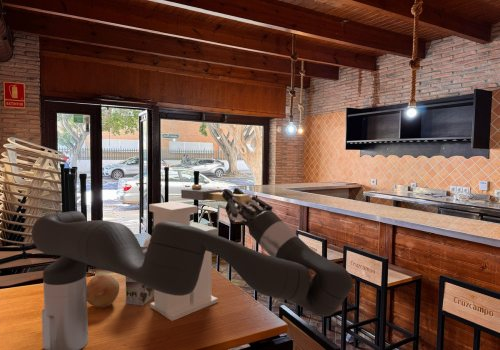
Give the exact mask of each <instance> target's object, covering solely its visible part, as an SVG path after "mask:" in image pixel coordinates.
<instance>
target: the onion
mask: <svg viewBox="0 0 500 350" xmlns="http://www.w3.org/2000/svg"><path fill="white" fill-rule="evenodd" d="M86 284H87V304H89V305H91V306H92V307H94V308H105V307H109V306H110V305H112V304H113V303H114V302H115V300H116V299H117V297H118V296H119V291H120V284H119V281H118V280H117V279H115V277H113V276H112V275H110V274H107V273H98V274H96V275H94V276H93V277H92V278H90V280H89V281H88V283H86Z"/></svg>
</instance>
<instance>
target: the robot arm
mask: <svg viewBox="0 0 500 350" xmlns="http://www.w3.org/2000/svg"><path fill="white" fill-rule="evenodd" d="M222 193H223V194H222V197H223V198H224V199H225V200H226V201H227V202H226V205H225V208H224V209H225V212H226V215H227V218H228V220H229V222H230V223H231V224H235V222H236V221H237V222H241V224H243V225H245V226H246V227H247V229H248V233H249V236H251V237H252V238H253V239H254V241H255V242H256V243H257V244H258V245H259V246H260V247H261V248H262V249H263V251H265V252H266V253H267V254H265V253H262V252H260V251H257V250H255V249H252V248H250V247H247V246H245V245H242V244H241V243H238V242H235V241H233V240H230V239H227V238H225V237H223V236H220V235H219V234H218V235H215V234H212V233H210V232H207V231H204V230H202V229H199V228H196V227H193V226H189V225H186V224H182V223H177V222H160V223H157V224H156V225H155V227H154V226H153V228H154V229H152V233H151V235H150V237H151V238H150V242H151V243H149V245H148V248H147V252H146V255H144V253H143V251H142V249H141V247H142V246H141V244H140V241H138V239H137V237H136V235H135V234H134V232H133V231H132V230H131V229H130V228H129V227H127V225H125V224H124V223H123V224H122V223H120V222H114V221H109V220H99V219H98V220H87V218H86V216H85V214H84V213H83V212H81V211H78V210H72V211H65V212H64V211H63V212H58V213H56V212H55V213H51V214H45V215H43V216H40V217H39V218H38V219H37V220H36V221H35V222H34V224H33V226H32V228H31V229H32V230H31V237H32V242H33V243H34V245H35V247H36V248H37V249H38V250H39V252H41V253H42V254H44V255H45V254H46V255H53V256H60V257H59V258H58V259H56V260H54V261H53V262H52V263H50V264H48V265H47V266H46V267H45V268H44V270H43V272H42V281H43V306H44V308H43V309H42V310H41V326H42V347H43V349H44V350H81V349H83V348H85V346H86V345H87V344H88V341H89V331H88V330H89V329H88V328H89V327H88V302H87V284H88V283H87V267H88V266H91V267H94V268H97V269H100V270H104V271H108V272H111V273H115V274H117V275H121V276H123V277H125V278H126V277H128V278H130V279H132V280H134V281H136V282H139V283H141V284H143V285H145V286H147V287H149V288H152V289H154V290H157V291H159V292H162V293H166V294H170V295H177V296H182V295H187V294H190V293H191V292H192V291H193V290H194V289H195V287H196V284H197V282H198V278H199V274H200V271H201V267H202V263H203V259H204V255H205V251H209V252H212V254H214V255H215V256H216V255H217V256H218V257H220V259H222V260H224V261H225V262H226V263H227V264H228V265H229V266H231V268H232V269H233V270H235V272H236V273H237V274H238V275H239V276H240V278H241V279H242V280H243V282H245V283H246V284H247V285H248V286H249V287H250V288H251V289H253V290H254V291H255V292H257V293H259V294H261V295H263V296H266V297H270V298H276V299H280V300H284V301H290V302H293V303H294V304H296V305H298V306H299V307H301V308H303V309H305V310H307V311H308V312H310V313H312V314H313V315H315V316H318V317H329V316H332V315H333V314H334V313H336V312H337V310H338V309H339V307H340V306H341V304H342V303H343V302H344V301H345V299H346V298H347V296H348V295H349V294H350V292H351V291H352V289H353V286H354V281H353V278H352V276H351V274H350V272H349V271H347V269H346V268H345V267H344V266H342V265H340V264H339V263H336V262H334V261H332V260H330V259H328V258H326V257H325V256H323V255H321V254H319V253H318V252H317V251H315V250H313V249H312V248H310V247H309V246H308V245H307V243H305V242H304V241H303V240H302V239H301V238H300V237H299V236H297V234H296V233H295V232H294V230H293V229H292V228H291V227H290V226H289V225H288V224H287V223H285V222H284V220H282V219H281V217H279V216H278V215H277V214H276V213H275V212H274V211H273V209H274V207H273V206H272V205H270V204H268V203H267V202H266V201H263V200H262V199H260V198H259V197H257V196H255V195H252V197H251V196H250V195H249V199H250V201H249V202H247V203H245V202H244V201H242V202H240V201H239V200H238V199H237V198H235V196H234V195H233V194H245V193H244V192H243V191H242V190H240V188H239V187H236V188H234V189H233V191H232V192H231V191H230V190H229V188H225V189H223V192H222ZM310 270H311V271H313V272H314V273H315V275H313V277H312V279H311V273H310Z"/></svg>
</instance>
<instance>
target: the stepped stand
mask: <svg viewBox="0 0 500 350" xmlns="http://www.w3.org/2000/svg"><path fill="white" fill-rule="evenodd" d="M148 207H149V208H148V211H149V212H151V213H153V228H154V227H155V225H156V224H157V223H160V222H177V223H182V224H186V225H189V226H193V227H196V228H199V229H202V230H204V231H207V232H210V233H212V234H215V235H218V236H219V228H217V227H215V226H210V225H207V224H203V223H199V222H196V221H194V222H193V221H192V222H191V215H193V214H198V208H199V207H198V206H197V205H194V204H190V203H185V202H179V201H175V200H173V201H168V202H167V201H166V202H159V203H150V204H148ZM212 254H213V253H212V252H209V251H205V255H204V259H203V263H202V267H201V271H200V274H199V278H198V282H197V284H196V287H195V289H194V290H193V291H192V292H191V293H190V294H187V295H182V296H177V295H170V294H166V293H162V292H159V291H157V290H154V297H153V298H154V301H152V302H150V303H149V305H150V306H149V307H150V308H151V309H153V310H155V311H156V312H158V313H159V314H161V316H164V317H165V318H167V319H168V320H170V321H172V322H173V321H175V320H178V319H180V318H182V317H185V316H187V315H189V314H193V313H194V312H197V311H199V310H202V309H204V308H206V307H209V306H213V305H215V304H216V303H218V302H219V301H218V299H219V298H218V297H216V296H213V295H212V276H213V275H212V272H213V271H212V269H213V268H212V260H213V259H212V256H213V255H212Z"/></svg>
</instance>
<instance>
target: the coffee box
mask: <svg viewBox="0 0 500 350" xmlns="http://www.w3.org/2000/svg"><path fill="white" fill-rule="evenodd" d="M140 247H141V249H142V251H143V253H144V255H146V252H147V248H148V247H143V246H140ZM153 298H154V289H152V288H149V287H147V286H145V285H143V284H141V283H139V282H136V281H134V280H132V279H130V278H128V277H126V276H125V304H127V305H136V306H141V307H143V306H145V305H146V304H147V303H149V302H150V300H152V299H153Z"/></svg>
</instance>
